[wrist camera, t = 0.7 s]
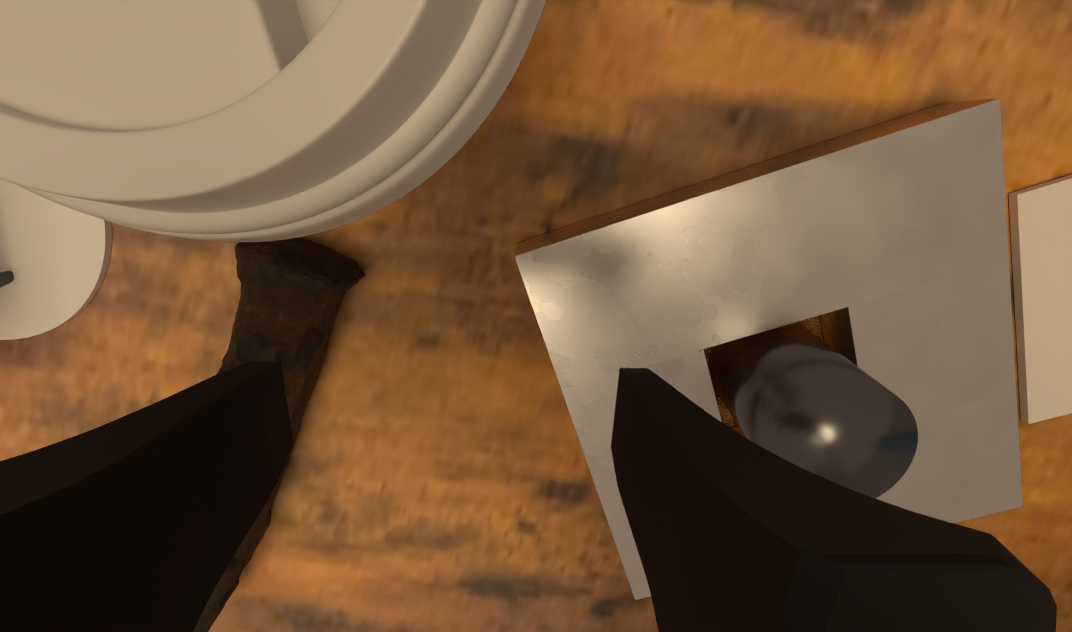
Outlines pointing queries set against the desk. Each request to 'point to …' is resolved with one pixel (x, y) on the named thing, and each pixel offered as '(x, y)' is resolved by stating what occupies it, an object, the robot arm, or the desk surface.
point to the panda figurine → (46, 262)
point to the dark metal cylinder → (815, 408)
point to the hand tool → (281, 345)
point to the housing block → (809, 296)
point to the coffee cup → (246, 105)
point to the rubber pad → (1043, 297)
